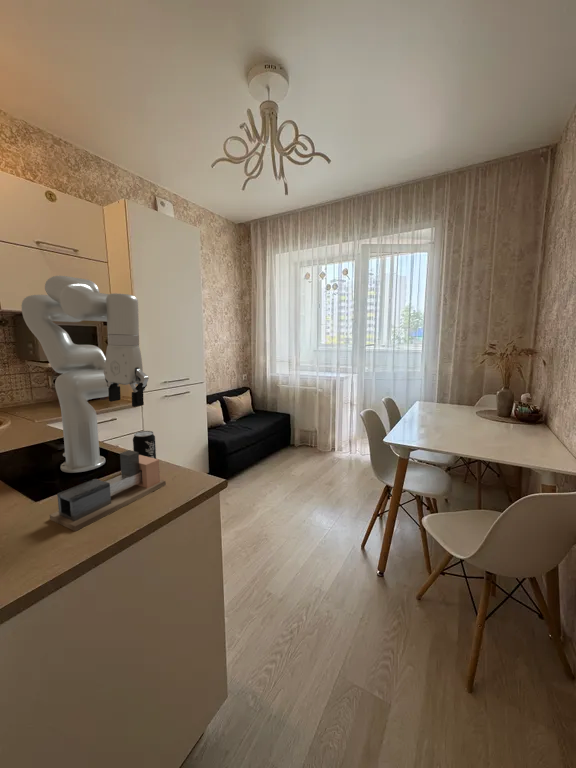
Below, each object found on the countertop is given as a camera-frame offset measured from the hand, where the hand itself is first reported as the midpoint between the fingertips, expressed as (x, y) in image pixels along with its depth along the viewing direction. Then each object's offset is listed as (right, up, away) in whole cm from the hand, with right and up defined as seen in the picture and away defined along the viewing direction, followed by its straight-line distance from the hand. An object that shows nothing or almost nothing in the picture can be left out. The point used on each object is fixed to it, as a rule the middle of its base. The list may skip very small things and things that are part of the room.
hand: (126, 403), depth 89 cm
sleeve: (-4, -25, -11) cm, 28 cm away
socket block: (+3, -23, +4) cm, 24 cm away
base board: (-1, -25, -4) cm, 26 cm away
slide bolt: (0, -23, -3) cm, 23 cm away
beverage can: (-2, -23, +16) cm, 28 cm away
